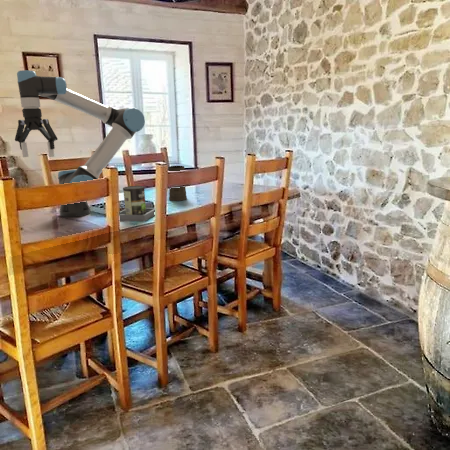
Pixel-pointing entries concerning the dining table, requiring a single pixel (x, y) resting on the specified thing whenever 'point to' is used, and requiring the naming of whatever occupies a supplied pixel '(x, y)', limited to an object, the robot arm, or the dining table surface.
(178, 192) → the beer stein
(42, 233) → the dining table surface
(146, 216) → the holder tray
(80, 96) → the robot arm
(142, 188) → the coffee can
